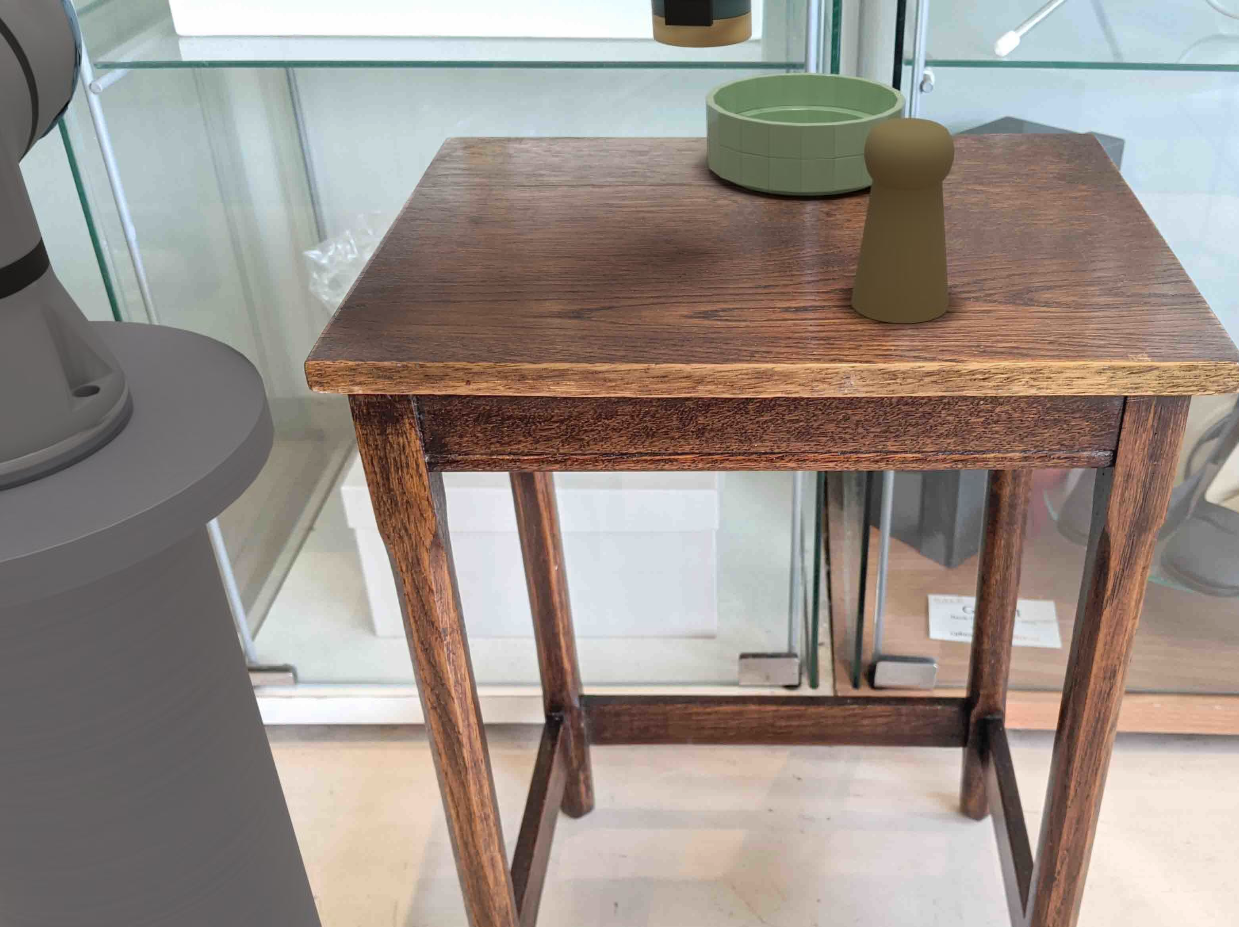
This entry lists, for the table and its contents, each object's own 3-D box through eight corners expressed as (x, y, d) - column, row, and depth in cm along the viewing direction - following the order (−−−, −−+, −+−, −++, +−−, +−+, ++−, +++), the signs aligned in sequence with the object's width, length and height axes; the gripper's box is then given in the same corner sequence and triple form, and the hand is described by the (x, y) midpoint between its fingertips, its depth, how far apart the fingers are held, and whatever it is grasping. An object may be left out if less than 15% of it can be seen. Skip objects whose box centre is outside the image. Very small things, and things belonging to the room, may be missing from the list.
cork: (864, 327, 78) (873, 140, 71) (840, 288, 83) (846, 111, 76) (961, 319, 79) (978, 134, 72) (932, 282, 84) (945, 105, 77)
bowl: (798, 215, 94) (799, 137, 91) (669, 166, 103) (666, 94, 100) (940, 172, 102) (946, 100, 99) (808, 130, 112) (810, 63, 109)
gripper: (718, -505, 57) (732, 51, 70) (786, -467, 72) (787, -17, 85) (553, -500, 58) (597, 47, 71) (655, -463, 73) (676, -19, 86)
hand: (701, 11), depth 78 cm, fingers closed on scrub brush, 6 cm apart
